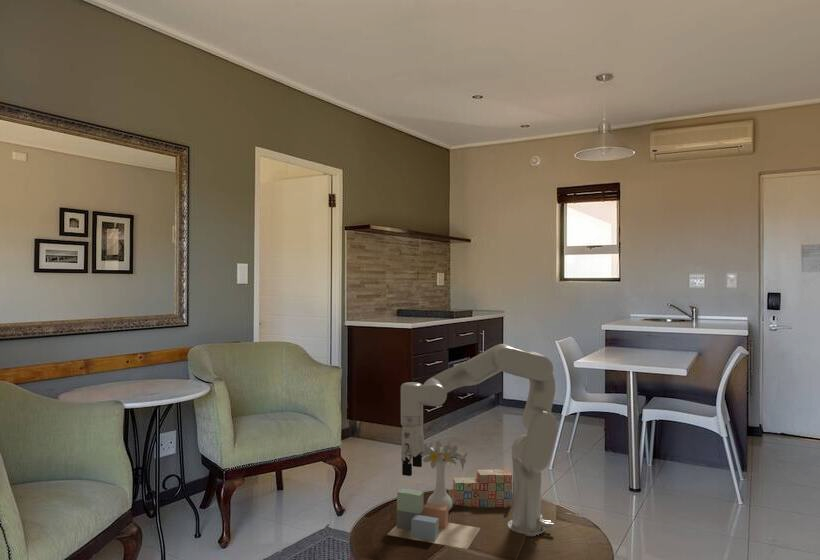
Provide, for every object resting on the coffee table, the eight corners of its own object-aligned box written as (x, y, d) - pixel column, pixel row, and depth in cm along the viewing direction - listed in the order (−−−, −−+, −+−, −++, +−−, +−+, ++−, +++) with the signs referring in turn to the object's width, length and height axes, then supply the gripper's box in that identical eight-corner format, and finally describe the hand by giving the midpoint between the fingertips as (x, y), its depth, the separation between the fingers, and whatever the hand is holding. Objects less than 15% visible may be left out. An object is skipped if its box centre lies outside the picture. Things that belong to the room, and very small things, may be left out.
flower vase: (469, 519, 210) (470, 448, 210) (417, 519, 209) (418, 448, 209) (464, 505, 223) (465, 438, 223) (415, 505, 222) (416, 438, 222)
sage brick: (423, 509, 200) (423, 491, 200) (419, 513, 196) (419, 495, 196) (401, 505, 203) (401, 488, 203) (396, 510, 199) (397, 492, 199)
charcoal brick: (423, 527, 200) (423, 509, 200) (419, 532, 196) (419, 513, 196) (400, 523, 203) (401, 505, 203) (396, 528, 199) (396, 510, 199)
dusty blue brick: (438, 536, 193) (438, 518, 193) (434, 541, 189) (435, 522, 189) (415, 532, 196) (415, 514, 196) (411, 537, 192) (411, 518, 192)
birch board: (480, 530, 200) (480, 527, 200) (467, 552, 185) (467, 549, 185) (405, 518, 210) (405, 515, 210) (386, 537, 194) (386, 534, 194)
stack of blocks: (454, 508, 221) (455, 474, 221) (452, 501, 227) (453, 469, 227) (511, 507, 222) (512, 474, 222) (508, 501, 228) (508, 469, 228)
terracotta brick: (448, 523, 203) (448, 506, 203) (444, 528, 200) (445, 510, 200) (426, 520, 206) (426, 502, 206) (422, 524, 202) (422, 506, 202)
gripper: (413, 426, 190) (413, 480, 190) (430, 415, 207) (431, 464, 207) (391, 424, 193) (392, 477, 193) (410, 413, 209) (410, 462, 209)
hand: (412, 470), depth 200 cm, fingers open, 9 cm apart
